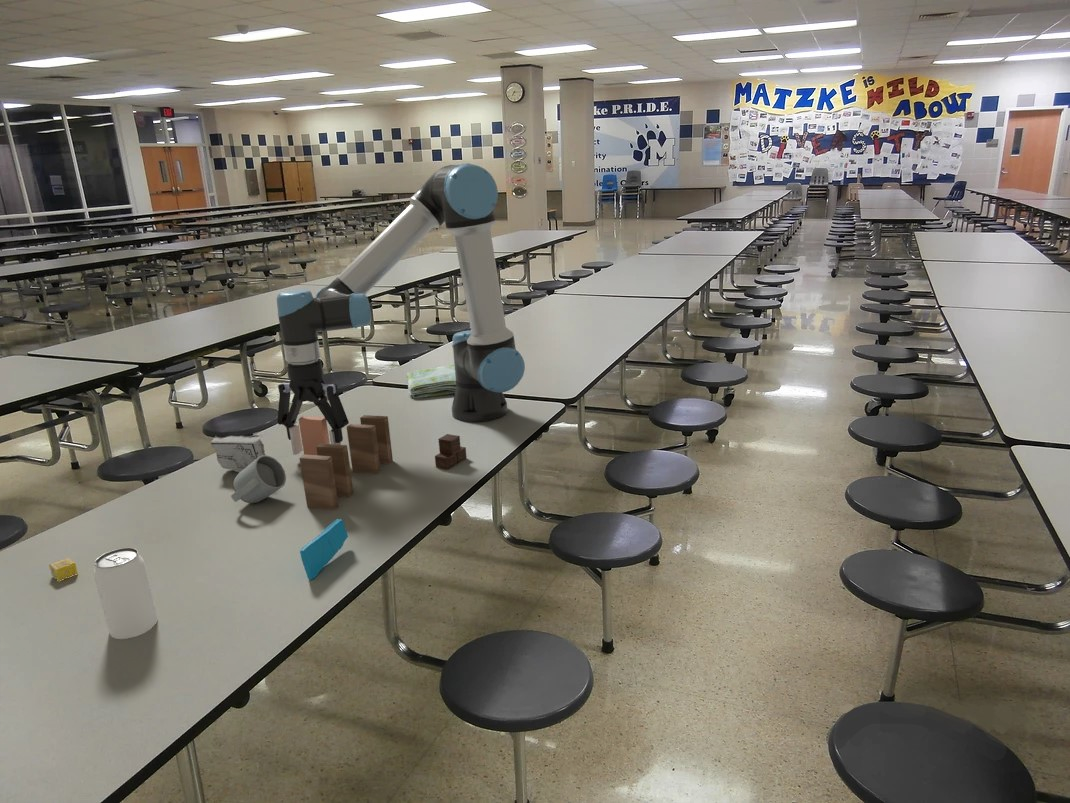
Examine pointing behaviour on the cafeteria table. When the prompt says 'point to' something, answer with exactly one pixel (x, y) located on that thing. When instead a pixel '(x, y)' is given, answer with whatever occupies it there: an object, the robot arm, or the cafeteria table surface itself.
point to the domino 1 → (313, 433)
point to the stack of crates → (450, 452)
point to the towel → (432, 381)
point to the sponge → (323, 548)
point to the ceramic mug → (259, 480)
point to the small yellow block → (63, 569)
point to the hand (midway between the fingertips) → (317, 453)
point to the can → (125, 593)
